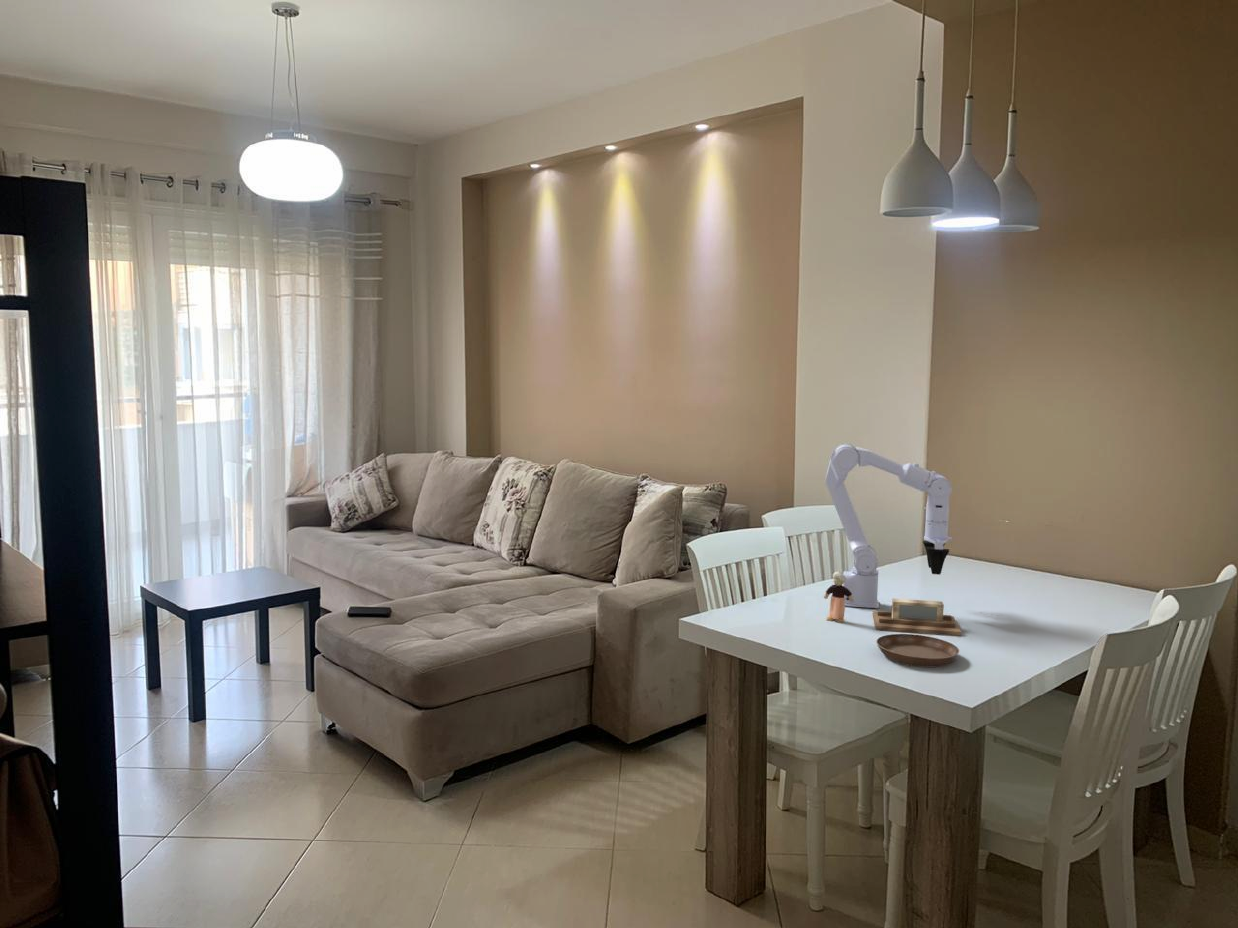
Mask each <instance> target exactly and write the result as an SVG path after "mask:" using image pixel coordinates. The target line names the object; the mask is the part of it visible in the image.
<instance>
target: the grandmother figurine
mask: <svg viewBox="0 0 1238 928" xmlns="http://www.w3.org/2000/svg"><path fill="white" fill-rule="evenodd" d="M832 579H833V584H832V585H831V586H829V587H828V588H827V589H826V591H825V593H824V596H823V599H825V600H826V599H828V598H829V596H830V595H831V596H830V603H829V613H828V616H827V617H826V619H825V620H826V621H830V622H833V621H835V622H836V623H844V622H845V611H846V606H845V598H844V595H845V596H847V597H848V598H849V599H850V602H853V601H854V599H853V597H852V593H851V592H850V591H849V590H848V589H847V588H846V587H844V586H843V583H844V582H845V581H846V577H845V576H844V575H843V572H841V571H835V572H834V573H833V574H832Z"/></svg>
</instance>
